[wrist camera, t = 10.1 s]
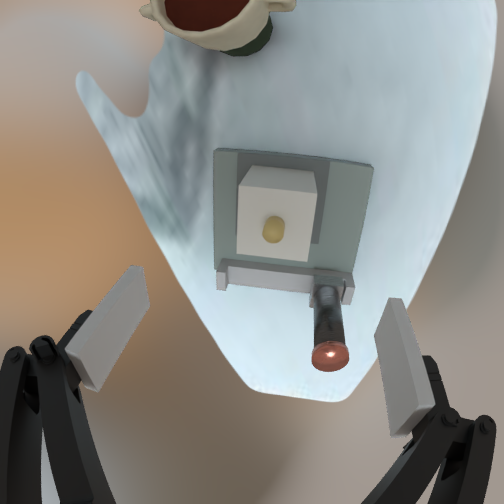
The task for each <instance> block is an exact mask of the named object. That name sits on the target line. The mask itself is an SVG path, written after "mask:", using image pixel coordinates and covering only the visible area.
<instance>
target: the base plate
mask: <svg viewBox="0 0 504 504" xmlns="http://www.w3.org/2000/svg"><path fill="white" fill-rule="evenodd" d="M252 165H256V166H267V167H277V168H287V169H296V170H305V171H313V172H314V177H315V182H316V188H317V201H316V208H315V215H314V222H313V229H312V235H311V241H310V248H309V254H308V260H307V262H303V261H295V260H286V259H278V258H270V257H261V256H253V255H244V254H236V253H237V220H238V190H239V184H240V183H241V181H242V180H243V178H244V177H245V175H246V174H247V172H248V171H249V169H250V168H251V166H252ZM373 170H374V168H373V167H372V166H371V165H370V164H364V163H357V162H351V161H344V160H338V159H330V158H323V157H315V156H306V155H297V154H288V153H277V152H266V151H253V150H237V149H218V148H217V149H216V150H214V167H213V215H214V269H215V270H217V271H216V281H217V290H223V291H226V288H227V285H228V284H235V285H243V286H250V287H258V288H267V289H275V290H283V291H292V292H301V293H310V291H311V286H312V281H313V276H314V274H318V275H327V276H337V277H343V283H344V289H343V293H342V297H341V304H343V305H350V304H351V301H352V297H353V294H354V290H355V285H354V280H353V276H352V271H353V267H354V263H355V258H356V254H357V250H358V246H359V242H360V237H361V233H362V228H363V223H364V219H365V214H366V209H367V204H368V199H369V193H370V188H371V182H372V176H373Z"/></svg>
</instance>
